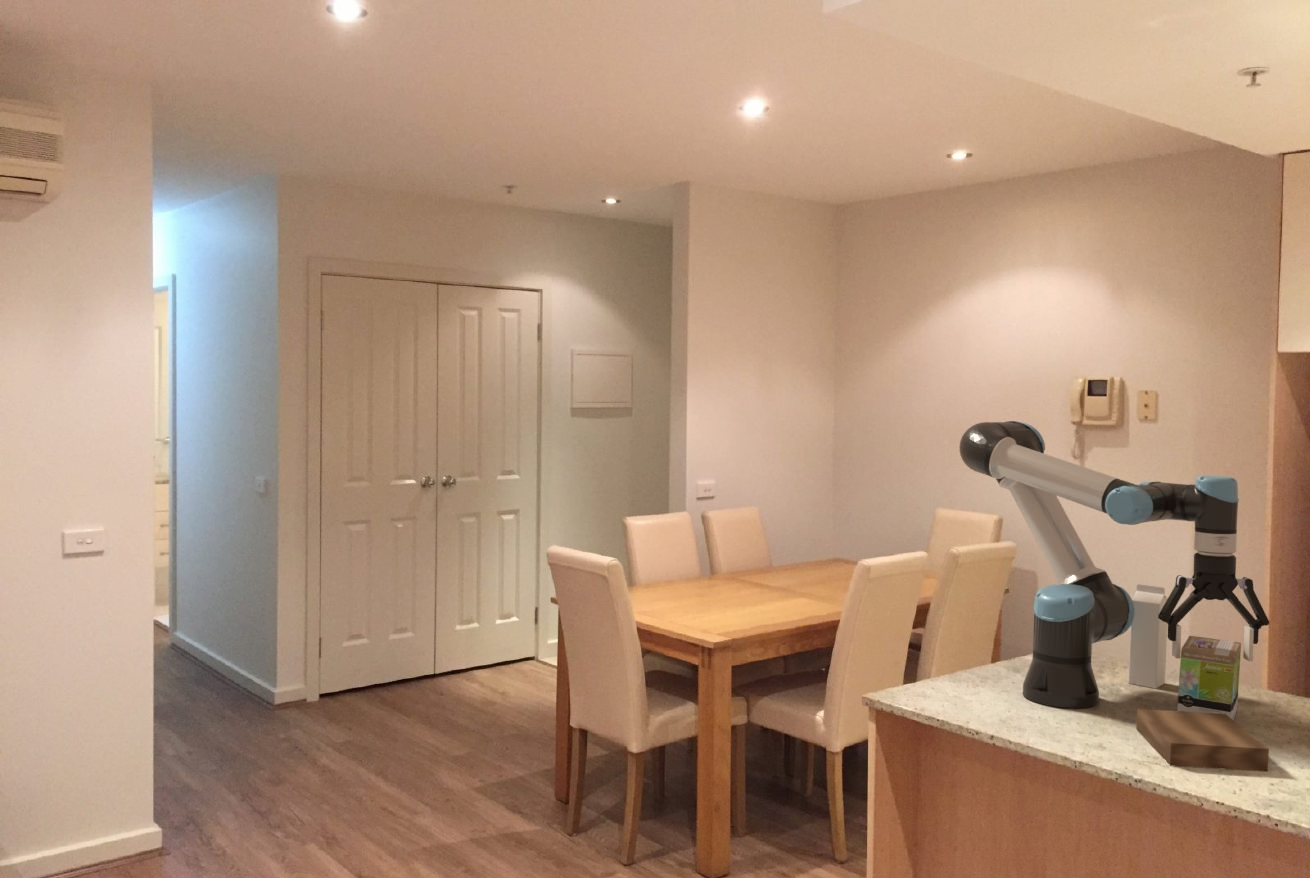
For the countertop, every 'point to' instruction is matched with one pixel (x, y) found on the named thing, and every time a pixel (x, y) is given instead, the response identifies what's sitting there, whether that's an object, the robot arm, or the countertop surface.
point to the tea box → (1209, 676)
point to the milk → (1148, 638)
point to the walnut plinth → (1201, 740)
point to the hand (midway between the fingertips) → (1211, 658)
